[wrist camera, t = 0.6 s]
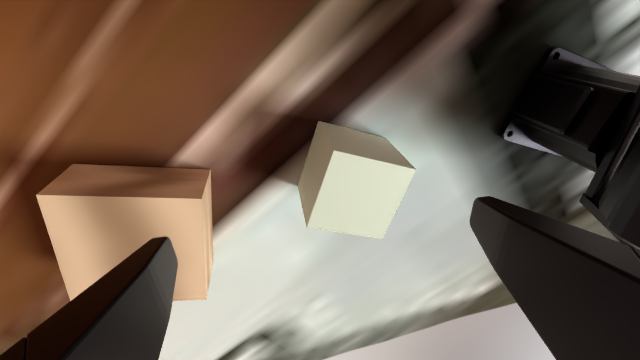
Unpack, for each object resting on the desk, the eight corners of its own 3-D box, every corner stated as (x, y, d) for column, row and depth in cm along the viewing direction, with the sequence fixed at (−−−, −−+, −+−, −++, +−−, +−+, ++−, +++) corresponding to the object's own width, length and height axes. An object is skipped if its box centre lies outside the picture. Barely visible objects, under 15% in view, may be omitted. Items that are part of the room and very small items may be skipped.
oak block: (211, 167, 21) (201, 198, 18) (213, 258, 25) (206, 299, 21) (75, 161, 20) (35, 194, 16) (99, 260, 23) (71, 304, 20)
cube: (385, 137, 22) (416, 169, 18) (360, 197, 24) (382, 238, 20) (318, 120, 21) (333, 150, 16) (297, 185, 23) (306, 227, 18)
